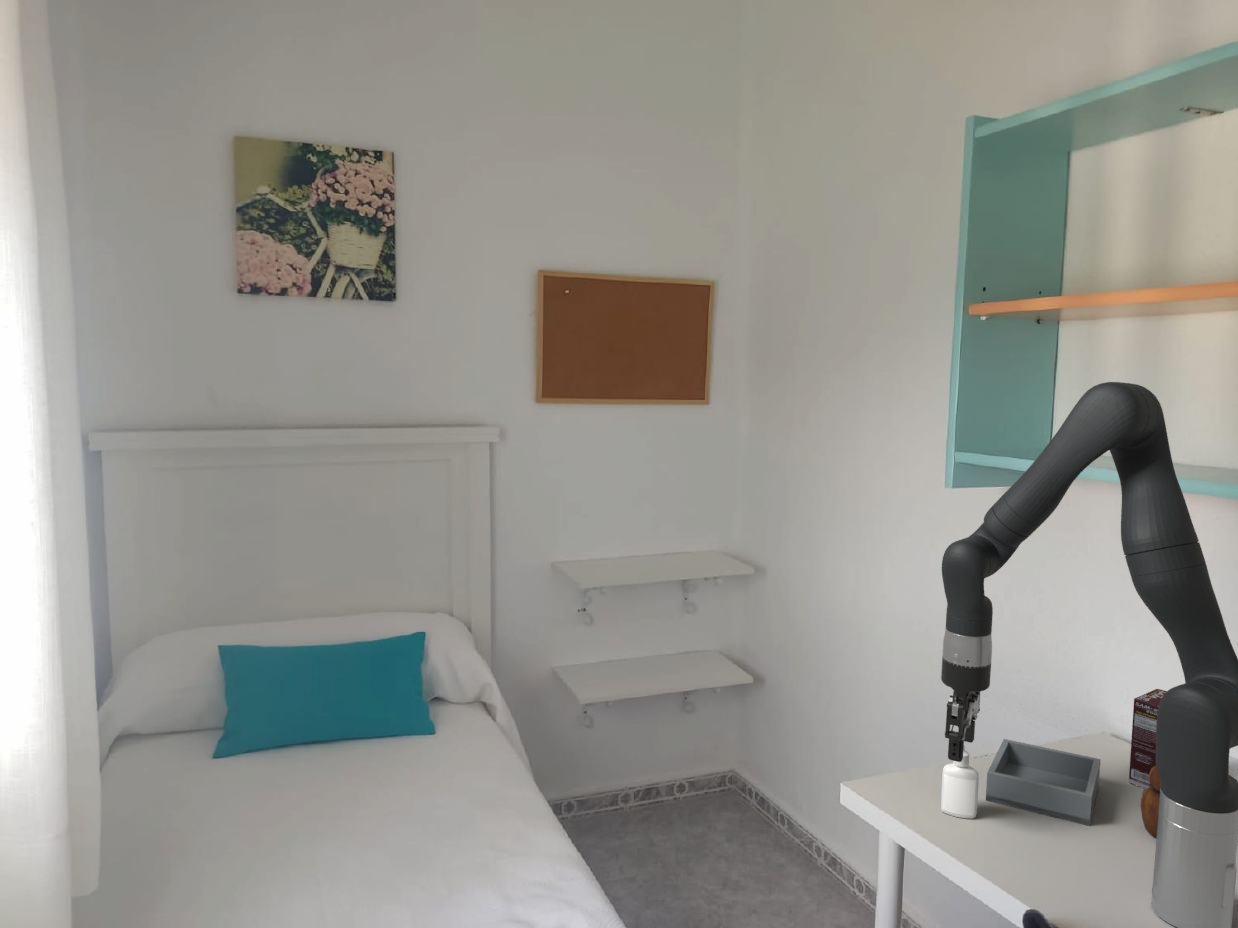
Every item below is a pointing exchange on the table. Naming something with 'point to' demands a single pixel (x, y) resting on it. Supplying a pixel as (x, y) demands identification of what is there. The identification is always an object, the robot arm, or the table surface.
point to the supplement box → (1144, 737)
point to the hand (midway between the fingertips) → (961, 750)
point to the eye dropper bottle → (960, 789)
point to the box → (1044, 781)
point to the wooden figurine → (1151, 802)
